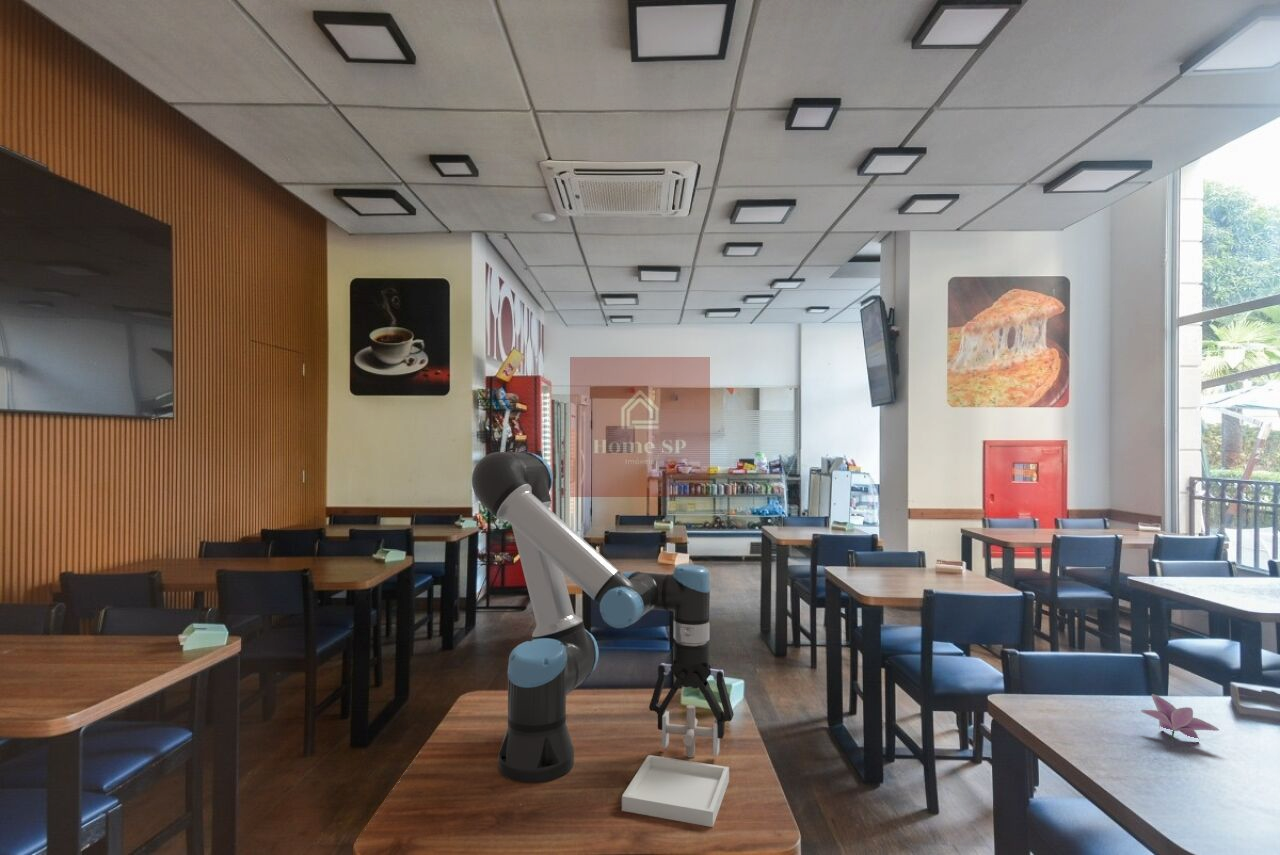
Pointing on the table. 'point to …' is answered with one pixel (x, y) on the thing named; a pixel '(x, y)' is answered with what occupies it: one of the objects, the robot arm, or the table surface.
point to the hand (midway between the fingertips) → (690, 749)
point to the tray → (677, 790)
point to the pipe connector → (690, 731)
